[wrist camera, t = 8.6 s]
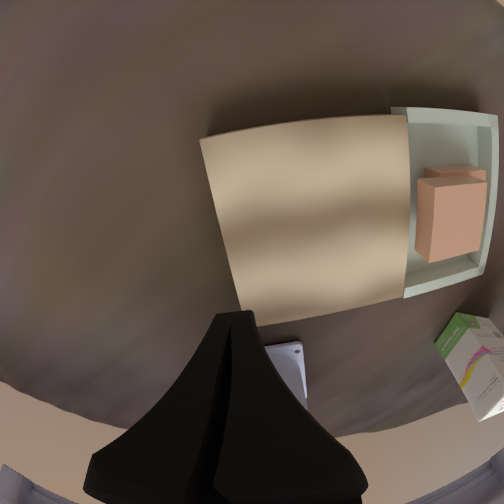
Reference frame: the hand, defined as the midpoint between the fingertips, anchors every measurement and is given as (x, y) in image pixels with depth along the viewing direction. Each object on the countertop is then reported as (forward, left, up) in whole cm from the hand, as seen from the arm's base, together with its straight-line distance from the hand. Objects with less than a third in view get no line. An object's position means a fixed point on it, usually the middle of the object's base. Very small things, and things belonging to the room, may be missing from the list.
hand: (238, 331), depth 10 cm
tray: (0, -16, -10) cm, 19 cm away
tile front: (0, -14, -7) cm, 16 cm away
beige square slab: (0, -5, -10) cm, 11 cm away
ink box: (-17, -23, -10) cm, 30 cm away
